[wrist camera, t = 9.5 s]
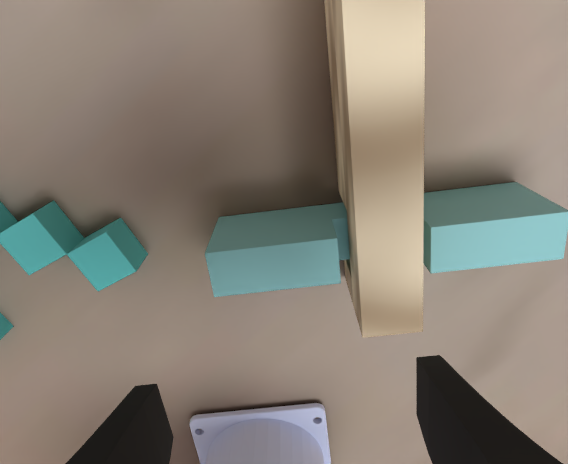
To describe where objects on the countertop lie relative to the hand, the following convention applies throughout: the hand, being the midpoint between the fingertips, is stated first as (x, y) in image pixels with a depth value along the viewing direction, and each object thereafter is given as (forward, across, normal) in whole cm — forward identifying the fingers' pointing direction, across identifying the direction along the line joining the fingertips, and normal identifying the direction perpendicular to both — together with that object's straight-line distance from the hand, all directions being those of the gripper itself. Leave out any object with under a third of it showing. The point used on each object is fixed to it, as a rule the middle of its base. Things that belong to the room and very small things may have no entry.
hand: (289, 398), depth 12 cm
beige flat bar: (+10, -4, -5) cm, 12 cm away
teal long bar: (+10, -4, -1) cm, 11 cm away
